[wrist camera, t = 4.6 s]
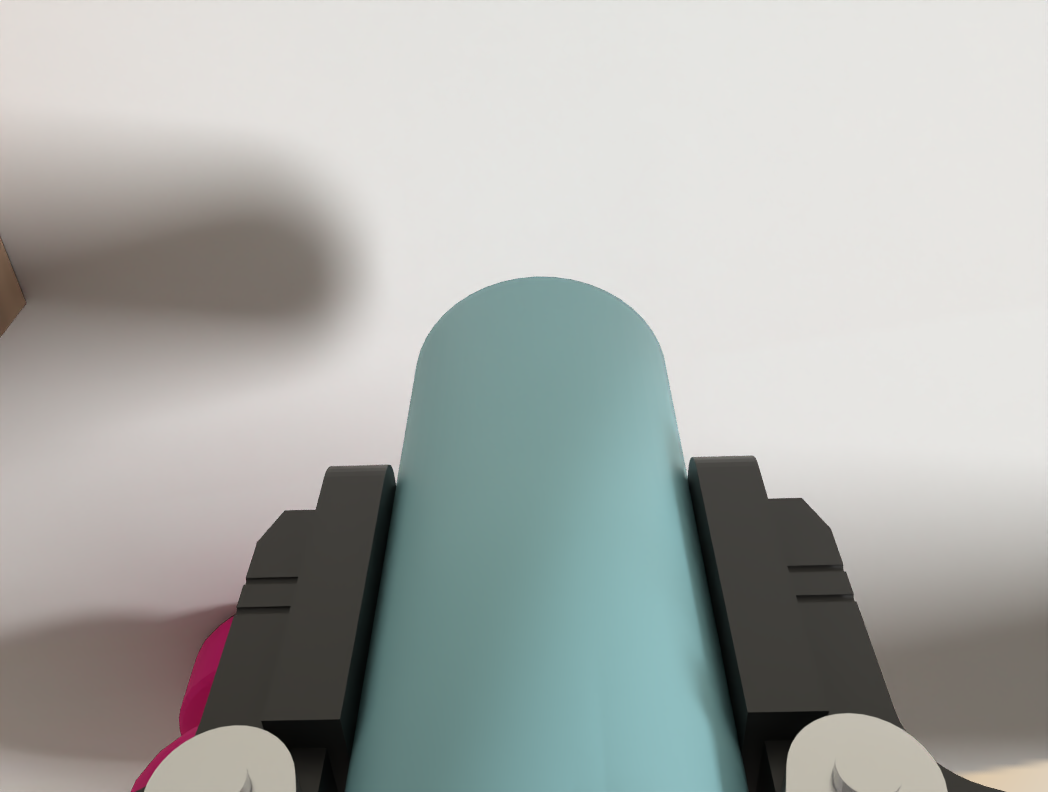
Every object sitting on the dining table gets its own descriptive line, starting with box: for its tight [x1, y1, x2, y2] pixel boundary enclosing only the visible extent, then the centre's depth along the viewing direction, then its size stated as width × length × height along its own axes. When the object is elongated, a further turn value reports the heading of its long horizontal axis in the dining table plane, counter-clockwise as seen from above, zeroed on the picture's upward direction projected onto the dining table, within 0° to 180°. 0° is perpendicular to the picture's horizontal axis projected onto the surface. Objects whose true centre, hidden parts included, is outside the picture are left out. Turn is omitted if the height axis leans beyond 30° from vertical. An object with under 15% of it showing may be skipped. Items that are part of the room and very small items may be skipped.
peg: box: [345, 277, 749, 792], centre depth 10 cm, size 4×4×10 cm
